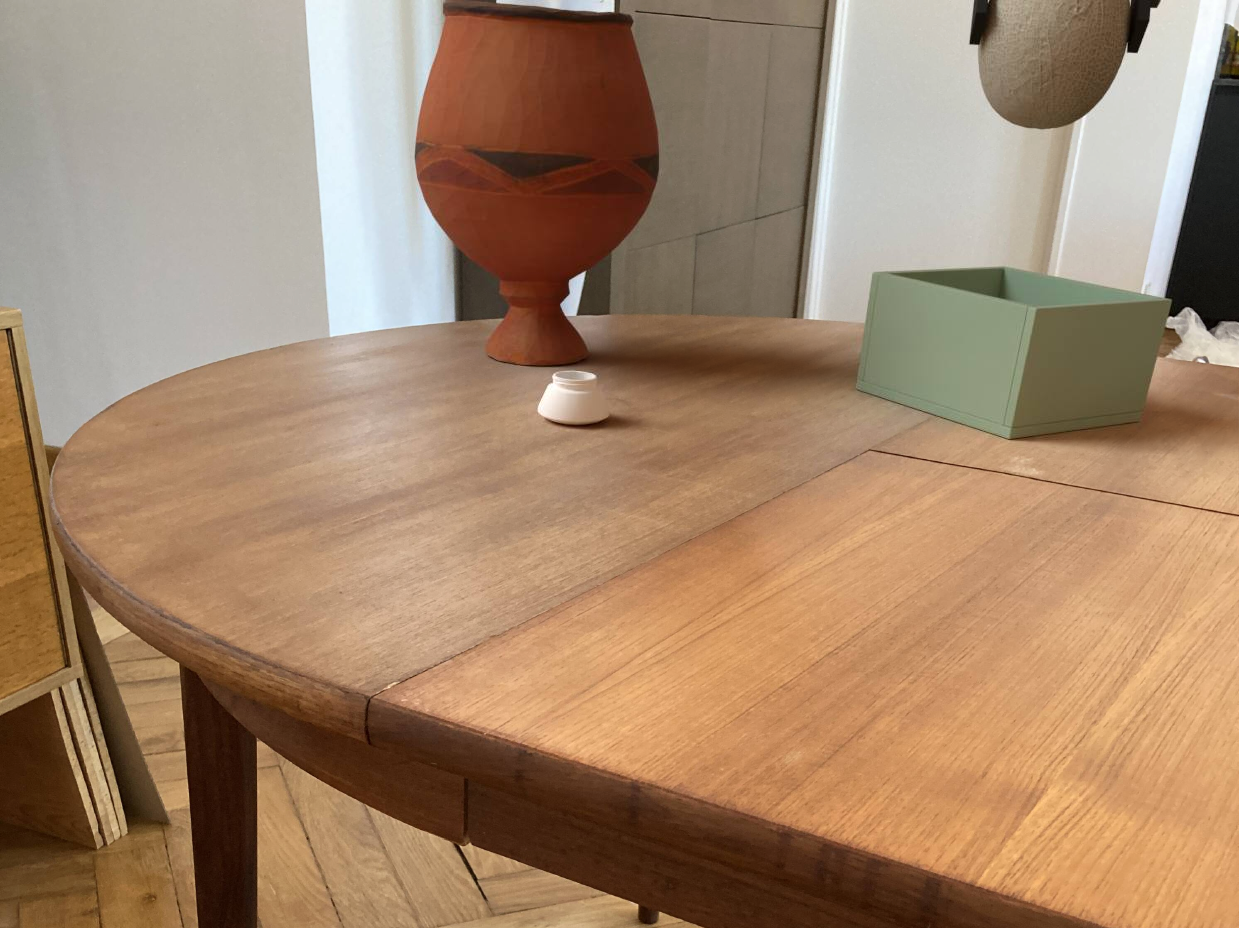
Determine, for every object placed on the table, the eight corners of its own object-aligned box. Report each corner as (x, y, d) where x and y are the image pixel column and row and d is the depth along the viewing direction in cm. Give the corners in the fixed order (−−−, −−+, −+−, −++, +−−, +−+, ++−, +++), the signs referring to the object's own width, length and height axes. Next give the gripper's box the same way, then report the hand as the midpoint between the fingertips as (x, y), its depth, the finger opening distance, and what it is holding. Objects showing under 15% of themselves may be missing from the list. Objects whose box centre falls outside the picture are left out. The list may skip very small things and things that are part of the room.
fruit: (1071, 128, 101) (1119, -103, 93) (1129, 136, 91) (1189, -121, 83) (944, 121, 100) (982, -113, 92) (989, 129, 90) (1036, -132, 82)
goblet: (395, 370, 99) (379, -8, 86) (450, 327, 115) (444, 4, 102) (635, 388, 98) (656, 6, 84) (656, 342, 114) (676, 16, 101)
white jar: (577, 407, 91) (523, 415, 88) (578, 365, 90) (524, 372, 87) (623, 421, 88) (569, 431, 85) (625, 378, 87) (570, 386, 84)
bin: (1140, 421, 97) (1172, 299, 92) (1009, 439, 90) (1036, 308, 85) (982, 376, 108) (1003, 266, 104) (855, 389, 101) (872, 271, 97)
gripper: (1219, -152, 97) (1204, 84, 92) (918, -161, 100) (889, 67, 95) (1258, -256, 90) (1245, -6, 85) (933, -264, 92) (902, -22, 87)
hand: (1057, 33), depth 90 cm, fingers closed on fruit, 10 cm apart
